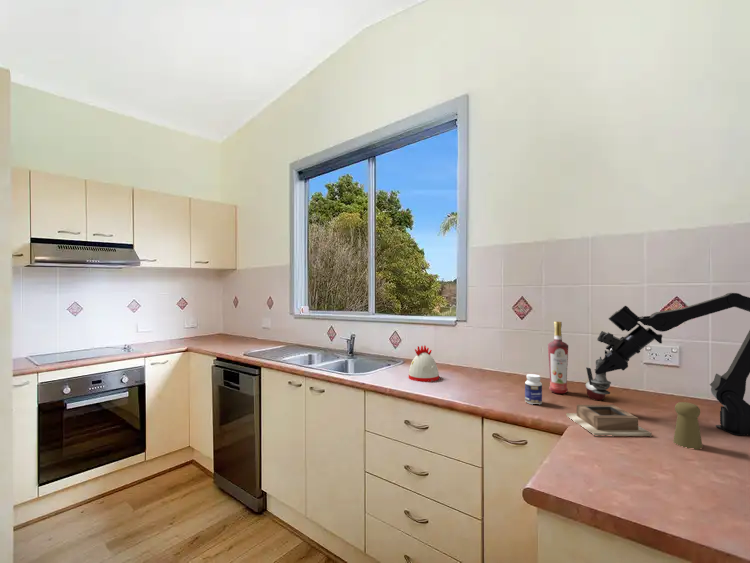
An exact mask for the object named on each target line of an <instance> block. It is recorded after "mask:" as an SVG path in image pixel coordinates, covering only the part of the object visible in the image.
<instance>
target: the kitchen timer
mask: <svg viewBox="0 0 750 563" xmlns="http://www.w3.org/2000/svg"><path fill="white" fill-rule="evenodd" d="M429 349H430V348H429V347H427V346H426V345H425V344H424V346H423V345H421V347H420V346H417V349H416V348H414V351H415V354H416V355H415V356H414V358H413V359H412V361H411V363H410V366H409V369H408V379H409V380H411V381H415V382H420V383H422V382H424V383H428V382H435V381H438V380H439V379H440V374H439V373H440V372H439V368H438V365H437V363H436V361H435V359H434V358H433V356H432V355H431V353H432V349H430V350H429Z"/></svg>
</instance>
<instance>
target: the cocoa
mask: <svg viewBox="0 0 750 563" xmlns="http://www.w3.org/2000/svg"><path fill="white" fill-rule="evenodd" d="M585 370H586V372H587V377H588V380H587V382H586V383H585V389H586V394H587V396H588V398H590V399H591V400H594V399H595V401H601V400H603V399H605V397H606V394H597V393H594V392H592V390H594V389H596V388H595V387H594V386H593V385H592V382H591V380H593V379H594V377H593V373H592V372H593V371H592V369H591V367H586V369H585Z"/></svg>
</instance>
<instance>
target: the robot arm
mask: <svg viewBox="0 0 750 563" xmlns="http://www.w3.org/2000/svg"><path fill="white" fill-rule="evenodd" d="M731 308H737V309H740V310H744V311H745V312H746V311H747V312H750V297H749V296H745V295H742V294H741V293H737V292H728V293H726V294H723V295H720V296H718V297H715V298H712V299H708V300H704V301H701V302H697V303H695V304H692V305H689V306H685V307H682V308H677V309H670V310H669V309H668V310H663V311H655V312H654V313H651V314H650V315H646V316H638V315H637V314H636V313H635V312H633V311H632V310H631V309H630V307H628V306H627V305H624V306H622V307H621V308H620V309H618V311H617V310H616V311H615V312H613V313H612V315H610V316H609V317H608V320H609V321H610V322H611V323H612V324H613V325H615V327H617V328H618V329H619V330H620V331H622V332H624V331H626V332H629V333H628V334H627V335H625V336H621V337H620V338H619V337H617V336H614V334H613V333H611V332H609V331H608V332H605V331H603V330H601V331H600V333H599V335H598V337H597V340H596V341H598V342H600V343H603V344H606V345H607V346H605V349H606V350H604V357H603V359H602V360H604V362H603V363H602V364H601V365H600V366H599V367H598V369H597V370H596V371H595V370H594V373H595V375H596V374H597V375H598V374H602V373H606V374H607V373H609V372H613V371H618V370H621V371H625V370H626V369H627V368H628V367H629V361H630V359H631V358H633V357H634V356H635V355H636V354H640V353H641V350H642V349H644V348H645V347H647V346H648V345H649V344H651V343H652V342H653V341H654V340H655V341H656V342H658V343H659V344H663V339H662V338H663V334H662V333H663V332H664V333H665V332H667V331H671V330H672V329H675V328H676V327H679V326H681V325H682V324H684V323H686V322H688V321H691V320H693V319H694V320H695V319H698V318H700V317H703V316H707V315H711V314H714V313H718V312H721V311H724V310H728V309H731ZM639 322H640V323H641V324H640V323H639ZM642 325H644V326H647V327H648V328H645V327H644V326H642ZM635 327H636V328H635ZM652 328H653V329H654V330H653V329H652ZM631 330H632V331H631ZM655 331H658V332H662V333H656V332H655ZM607 350H608V351H607ZM749 375H750V329H749V330H748V333H747V334H746V336H745V338H744V340H743V341H742V343H741V345H740V347H739V349H738V351H737V353H736V355H735V356H734V358H733V361H732V362H731V364H730V366H729V367H728V369H727V371H726V372H724V373H723V374H722V375H720V374H719V373H715V374H714V379H713V380H712V381H711V383H709V386H710V387H711V388H710V392H711V394H712V396H713V397H714V398H715V399H716V400H717V401H718V402H719V403H720V404H721V406H720V410H719V424H715V427H716V428H718V429H719V430H722V431H725V432H727V433H729V434H732V435H734V436H750V404H749V403H748V402H747V401H746V400H745V399H744V397H745V394H746V389H747V387H746V386H747V380H748V377H749Z"/></svg>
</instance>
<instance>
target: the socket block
mask: <svg viewBox="0 0 750 563" xmlns="http://www.w3.org/2000/svg"><path fill="white" fill-rule="evenodd" d="M565 415H566V418H568V417H569V418H570V419H569V418H568V419H569V420H571V419H572V420H573V421H574V423H575V422H576V423H578V424H579V425H581V426H582V427H584V428H585V429H587V430H588V431H589V432H591V433H592V434H594V435H612V436H611V437H614V436H650V437H651V438H652V432H651V431H649V430H647V429H645V428H643V427H641V426H639V417H638V416H635V415H633V414H632V413H630V412H628V411H627V410H626V411H625V410H624V409H622V408H620V407H619V406H616V405H614V404H576V412H572V413H571V412H570V413H569V412H568V413H566V414H565ZM572 420H571V421H572ZM573 421H572V422H573ZM576 423H575V424H576ZM578 424H577V425H578ZM579 425H578V426H579ZM582 427H581V428H582ZM589 432H588V433H589Z"/></svg>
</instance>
